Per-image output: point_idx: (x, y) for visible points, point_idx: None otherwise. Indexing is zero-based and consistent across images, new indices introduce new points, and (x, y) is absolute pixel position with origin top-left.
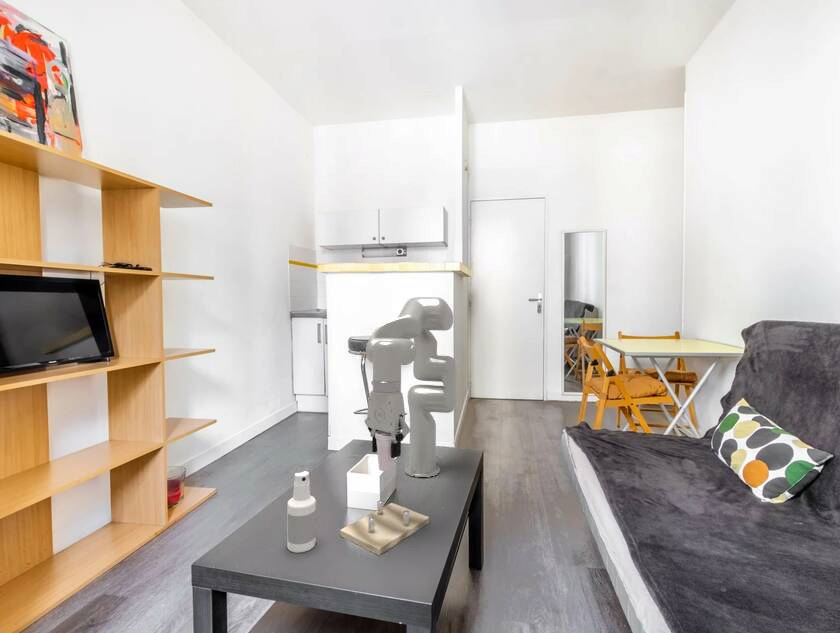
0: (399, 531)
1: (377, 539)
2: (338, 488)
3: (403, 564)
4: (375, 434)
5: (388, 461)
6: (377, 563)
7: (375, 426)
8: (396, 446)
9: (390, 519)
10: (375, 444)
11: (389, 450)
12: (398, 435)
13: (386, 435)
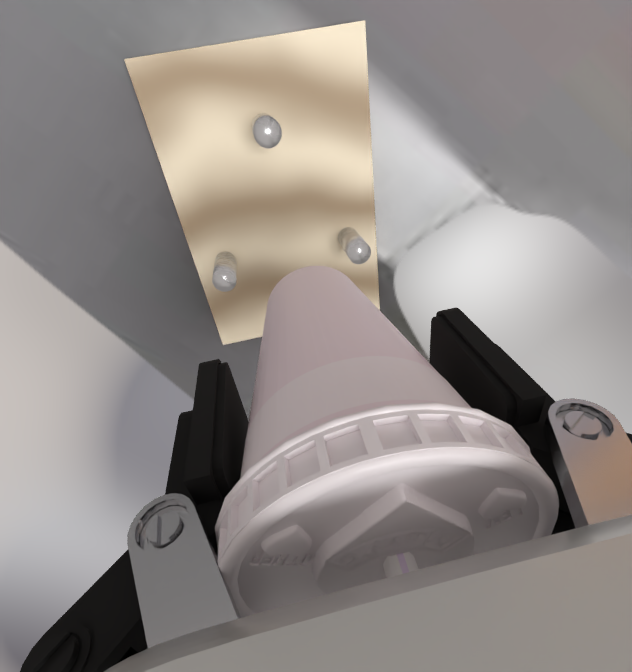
0: (200, 216)
1: (198, 108)
2: (604, 245)
3: (23, 99)
4: (499, 446)
5: (263, 331)
6: (78, 11)
7: (610, 611)
8: (172, 474)
9: (292, 242)
10: (466, 368)
11: (255, 397)
12: (103, 648)
13: (291, 537)
